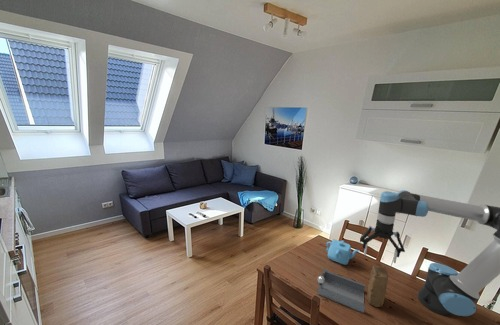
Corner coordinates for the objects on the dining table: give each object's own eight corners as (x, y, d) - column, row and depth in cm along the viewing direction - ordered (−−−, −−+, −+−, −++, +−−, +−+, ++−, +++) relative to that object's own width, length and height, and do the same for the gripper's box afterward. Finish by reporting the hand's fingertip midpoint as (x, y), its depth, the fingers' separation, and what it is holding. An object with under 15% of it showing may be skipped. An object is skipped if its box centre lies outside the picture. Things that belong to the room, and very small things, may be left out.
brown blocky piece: (382, 310, 111) (389, 278, 107) (366, 304, 115) (372, 272, 111) (380, 296, 121) (387, 265, 117) (366, 291, 124) (371, 261, 120)
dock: (363, 291, 124) (366, 276, 122) (363, 313, 109) (366, 297, 107) (320, 274, 135) (322, 261, 133) (315, 293, 120) (317, 278, 118)
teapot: (332, 267, 143) (335, 249, 141) (322, 252, 159) (324, 236, 157) (357, 267, 145) (360, 249, 142) (345, 252, 161) (348, 236, 158)
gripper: (413, 223, 107) (405, 261, 111) (358, 213, 118) (353, 247, 122) (416, 230, 101) (409, 269, 105) (358, 218, 111) (353, 254, 115)
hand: (379, 257), depth 113 cm, fingers open, 13 cm apart
